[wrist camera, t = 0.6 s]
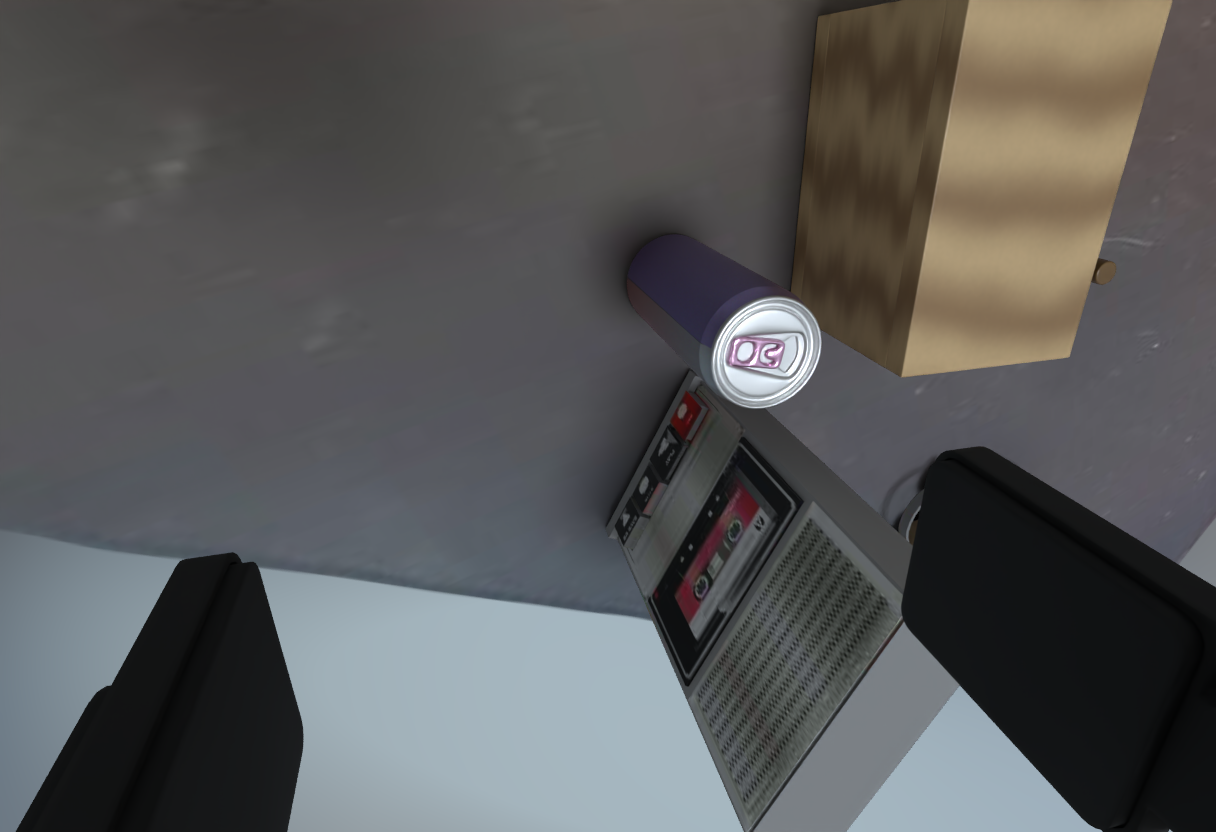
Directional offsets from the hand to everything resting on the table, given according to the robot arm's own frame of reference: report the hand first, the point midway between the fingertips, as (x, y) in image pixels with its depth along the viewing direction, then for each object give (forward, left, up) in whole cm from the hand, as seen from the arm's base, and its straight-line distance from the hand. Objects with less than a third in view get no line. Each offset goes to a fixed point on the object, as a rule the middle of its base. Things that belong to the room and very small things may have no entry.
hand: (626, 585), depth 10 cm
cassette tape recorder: (+19, +13, -35) cm, 42 cm away
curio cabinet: (-1, +27, -35) cm, 45 cm away
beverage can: (+5, +12, -35) cm, 38 cm away
